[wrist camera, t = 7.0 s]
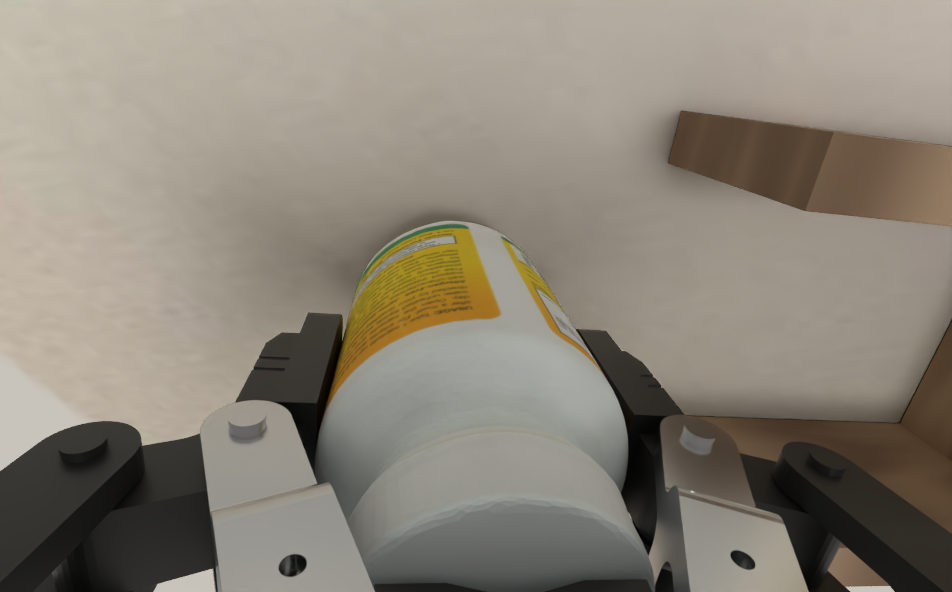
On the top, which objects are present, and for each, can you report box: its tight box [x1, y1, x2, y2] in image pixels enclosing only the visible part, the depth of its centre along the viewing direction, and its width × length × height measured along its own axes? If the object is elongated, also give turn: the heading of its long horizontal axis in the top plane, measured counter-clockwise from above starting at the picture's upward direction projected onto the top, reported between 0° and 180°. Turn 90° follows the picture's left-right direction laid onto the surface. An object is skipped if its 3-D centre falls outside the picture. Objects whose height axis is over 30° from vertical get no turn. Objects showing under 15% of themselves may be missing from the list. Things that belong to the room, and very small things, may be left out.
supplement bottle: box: [315, 221, 655, 592], centre depth 11 cm, size 5×5×10 cm
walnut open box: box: [668, 111, 952, 586], centre depth 16 cm, size 14×12×6 cm
